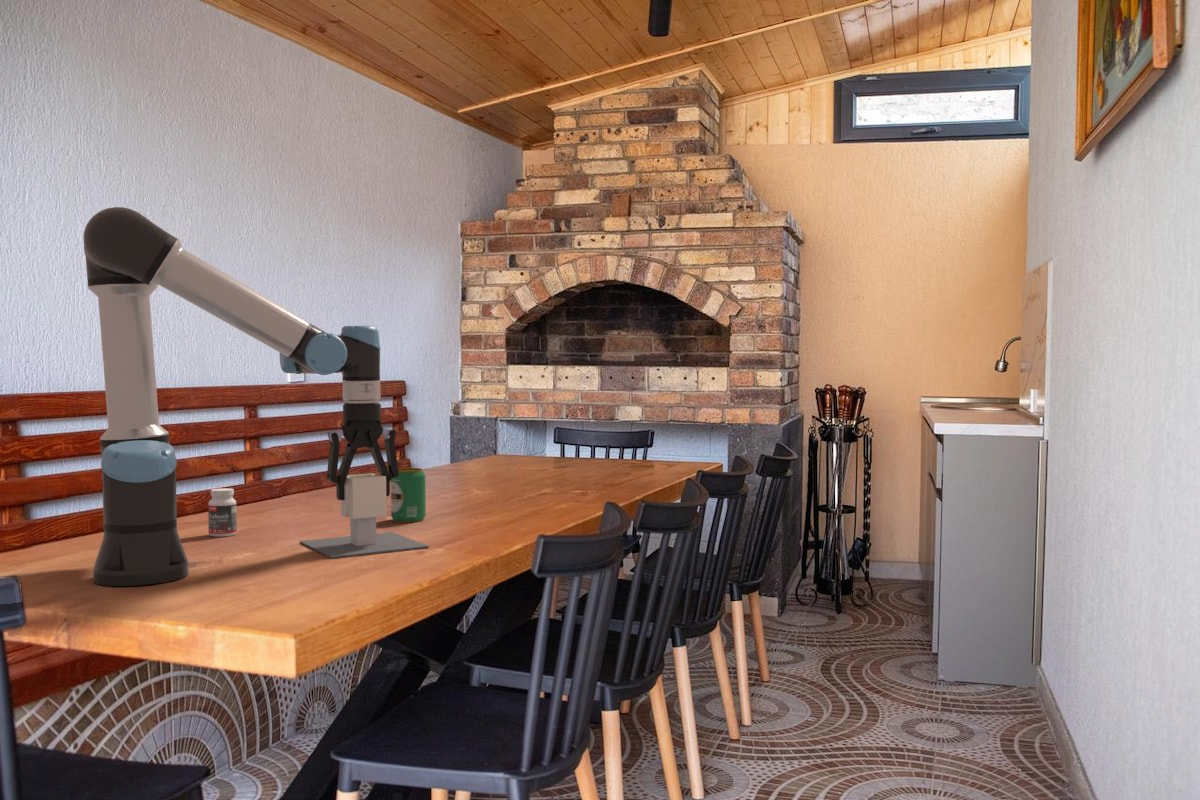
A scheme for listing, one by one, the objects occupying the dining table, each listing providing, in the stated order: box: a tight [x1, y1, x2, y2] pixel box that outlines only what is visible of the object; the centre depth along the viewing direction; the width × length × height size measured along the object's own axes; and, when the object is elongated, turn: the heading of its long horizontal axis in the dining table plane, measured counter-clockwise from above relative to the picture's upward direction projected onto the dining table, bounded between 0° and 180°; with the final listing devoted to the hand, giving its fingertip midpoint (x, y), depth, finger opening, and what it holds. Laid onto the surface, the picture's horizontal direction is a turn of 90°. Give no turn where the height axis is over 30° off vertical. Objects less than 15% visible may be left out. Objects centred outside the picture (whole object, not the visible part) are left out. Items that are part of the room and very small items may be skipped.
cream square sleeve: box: [345, 471, 388, 519], centre depth 206 cm, size 7×7×8 cm
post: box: [299, 517, 430, 559], centre depth 206 cm, size 20×20×11 cm
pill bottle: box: [207, 487, 238, 538], centre depth 219 cm, size 6×6×10 cm
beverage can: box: [390, 467, 427, 523], centre depth 239 cm, size 8×8×12 cm
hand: (363, 514), depth 206 cm, fingers closed on cream square sleeve, 7 cm apart
